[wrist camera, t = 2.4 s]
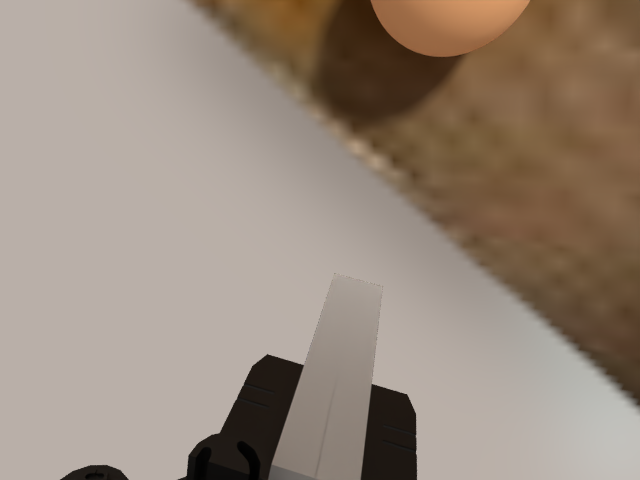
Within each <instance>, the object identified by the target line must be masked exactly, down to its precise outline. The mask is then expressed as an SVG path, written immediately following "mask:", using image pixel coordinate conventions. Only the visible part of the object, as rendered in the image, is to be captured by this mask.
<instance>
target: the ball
mask: <svg viewBox="0 0 640 480" xmlns="http://www.w3.org/2000/svg"><path fill="white" fill-rule="evenodd" d="M529 1H530V0H371V3H372V6H373V9H374V11H375V13H376V15H377V17H378V19H379V21H380V22H381V24H382V25H383V27H384V28H385V29H386V31H387V32H388V33H389V34H390V35H391V36H392V37H393V38H394V39H395V40H396V41H397V42H399V43H400V44H402V45H403V46H405V47H406V48H408V49H410V50H412V51H414V52H417V53H420V54H423V55H428V56H434V57H449V56H457V55H461V54H465V53H468V52H471V51H474V50H476V49H479V48H481V47H483V46H484V45H486V44H488V43H490V42H491V41H493V40H494V39H496V38H497V37H498V36H500V35H501V34H502V33H503V32H505V31H506V30H507V29H508V28H509V27H510V26H511V25H512V24H513V23H514V22H515V21H516V19H517V18H518V17H519V16H520V15H521V13H522V12H523V10H524V9H525V8H526V6H527V5H528V3H529Z"/></svg>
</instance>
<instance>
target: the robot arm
mask: <svg viewBox="0 0 640 480" xmlns="http://www.w3.org/2000/svg"><path fill="white" fill-rule="evenodd" d="M382 288H383V287H382V286H379V285H375V284H372V283H368V282H364V281H361V280H357V279H353V278H350V277H347V276H343V275H339V274H334V276H333V280H332V283H331V286H330V289H329V292H328V295H327V298H326V301H325V304H324V307H323V310H322V313H321V316H320V319H319V322H318V325H317V328H316V331H315V334H314V337H313V340H312V343H311V346H310V350H309V352H308V356H307V358H306V361H305V365H301V364H298V363H294V362H291V361H288V360H284V359H281V358H278V357H275V356H271V355H268V354H267V355H266V356H265V357H263V358H262V359H261V360H260V361H259V362H257V363H256V364H255V365H253V366H252V368H251V370H250V372H249V374H248V376H247V378H246V380H245V382H244V386H243V387H242V389H241V391H240V393H239V395H238V397H237V400H236V401H235V403H234V405H233V407H232V409H231V411H230V413H229V415H228V417H227V419H226V421H225V423H224V426H223V427H222V430H221V432H220V433H219V434H214V435H211V436H209V437H207V438H206V439H204V440H202V441H201V442H199V443H198V444H197V445H196V447H195V448H194V449H193V450H192V452H191V453H190V454H189V458H188V469H187V476H186V477H184V478H181V479H178V480H417V455H416V413H415V411H414V409H413V406H412V404H411V402H410V400H409V397H408V395H407V394H404V393H400V392H397V391H393V390H390V389H386V388H383V387H380V386H377V385H373V384H372V375H373V367H374V358H375V349H376V340H377V332H378V323H379V314H380V306H381V296H382ZM60 480H128V478H127V477H126V476H125V475H124V474H123V473H122V472H121V470H118V469H116V468H113V467H110V466H108V465H90V466H87V467H84V468H81V469H78V470H75V471H72V472H71V473H69V474H68V475H66V476H65V477H63V478H62V479H60Z"/></svg>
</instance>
